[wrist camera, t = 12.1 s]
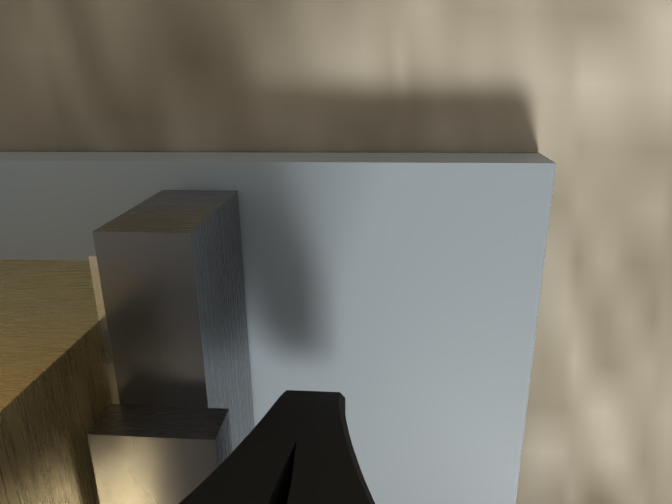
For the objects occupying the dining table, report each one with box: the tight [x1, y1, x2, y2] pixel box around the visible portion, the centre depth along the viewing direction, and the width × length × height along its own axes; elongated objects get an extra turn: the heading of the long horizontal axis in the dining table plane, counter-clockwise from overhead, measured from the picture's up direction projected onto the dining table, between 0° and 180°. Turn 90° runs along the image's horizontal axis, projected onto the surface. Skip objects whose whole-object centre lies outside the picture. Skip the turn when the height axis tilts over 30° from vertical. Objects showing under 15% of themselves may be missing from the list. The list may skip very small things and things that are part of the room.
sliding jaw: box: [87, 190, 254, 504], centre depth 11 cm, size 2×9×4 cm, turn 1°
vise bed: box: [0, 152, 556, 504], centre depth 12 cm, size 15×10×4 cm, turn 91°
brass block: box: [0, 259, 112, 504], centre depth 10 cm, size 4×6×6 cm, turn 1°
